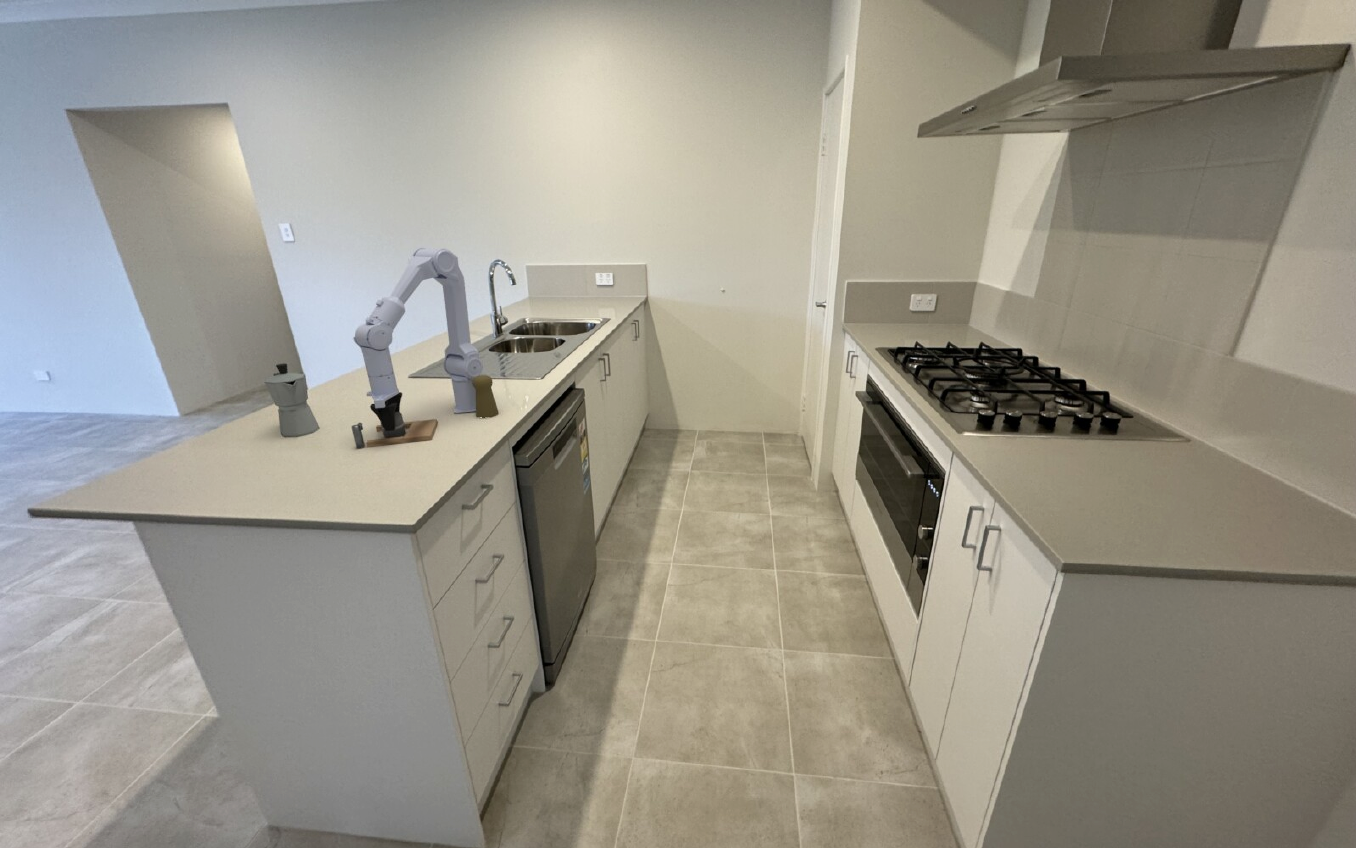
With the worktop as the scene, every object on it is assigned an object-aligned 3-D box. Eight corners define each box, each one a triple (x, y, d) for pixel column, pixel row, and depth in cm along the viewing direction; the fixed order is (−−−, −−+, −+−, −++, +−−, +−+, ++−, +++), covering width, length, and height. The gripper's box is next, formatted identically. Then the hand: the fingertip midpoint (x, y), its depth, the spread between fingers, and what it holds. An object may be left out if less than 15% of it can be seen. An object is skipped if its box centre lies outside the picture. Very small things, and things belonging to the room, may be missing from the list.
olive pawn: (503, 412, 154) (498, 374, 150) (488, 419, 149) (482, 380, 145) (486, 409, 156) (481, 372, 152) (471, 416, 151) (464, 377, 147)
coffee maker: (327, 432, 142) (309, 364, 136) (287, 442, 136) (266, 372, 130) (309, 419, 152) (291, 355, 145) (272, 428, 146) (251, 361, 139)
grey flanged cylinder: (406, 428, 142) (402, 410, 140) (405, 436, 138) (401, 418, 136) (384, 431, 141) (379, 413, 138) (382, 439, 136) (378, 421, 134)
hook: (368, 440, 136) (363, 420, 134) (364, 448, 132) (358, 426, 130) (360, 441, 136) (355, 420, 134) (355, 449, 132) (350, 427, 130)
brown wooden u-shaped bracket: (437, 423, 147) (437, 418, 147) (431, 439, 136) (430, 435, 136) (378, 429, 143) (377, 425, 143) (367, 447, 133) (366, 442, 132)
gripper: (369, 367, 139) (381, 418, 144) (354, 383, 126) (368, 438, 131) (400, 365, 141) (410, 415, 146) (388, 380, 128) (400, 435, 133)
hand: (392, 426), depth 138 cm, fingers closed on grey flanged cylinder, 5 cm apart
